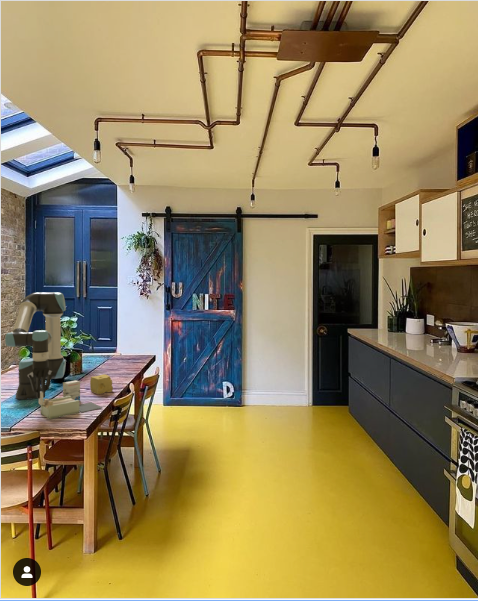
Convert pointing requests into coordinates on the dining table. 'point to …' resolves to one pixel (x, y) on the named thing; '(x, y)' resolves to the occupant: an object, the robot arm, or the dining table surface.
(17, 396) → the robot arm
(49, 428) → the dining table surface
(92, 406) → the rubber mat
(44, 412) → the sage box
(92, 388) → the cheese
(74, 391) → the ink box
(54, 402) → the cover plate
